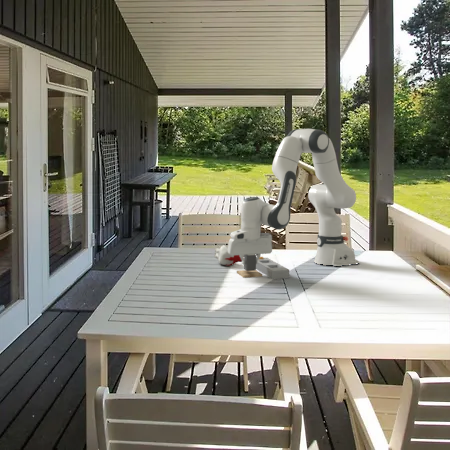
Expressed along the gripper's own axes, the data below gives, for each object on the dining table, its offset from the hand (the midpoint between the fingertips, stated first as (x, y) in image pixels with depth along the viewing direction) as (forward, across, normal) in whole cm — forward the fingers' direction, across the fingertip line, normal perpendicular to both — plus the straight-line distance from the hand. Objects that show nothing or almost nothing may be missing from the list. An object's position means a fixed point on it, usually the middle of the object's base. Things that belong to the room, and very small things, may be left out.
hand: (249, 263), depth 244 cm
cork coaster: (+5, 0, 0) cm, 5 cm away
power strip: (+5, -11, -6) cm, 13 cm away
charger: (+3, 0, 0) cm, 3 cm away
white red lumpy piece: (+5, +3, -21) cm, 22 cm away
